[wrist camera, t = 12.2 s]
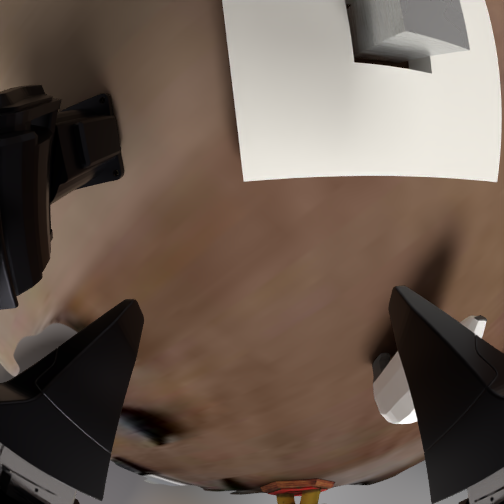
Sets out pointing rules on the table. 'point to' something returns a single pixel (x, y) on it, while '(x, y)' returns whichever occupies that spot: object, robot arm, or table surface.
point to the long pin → (406, 29)
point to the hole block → (358, 98)
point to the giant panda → (403, 381)
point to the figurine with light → (297, 490)
